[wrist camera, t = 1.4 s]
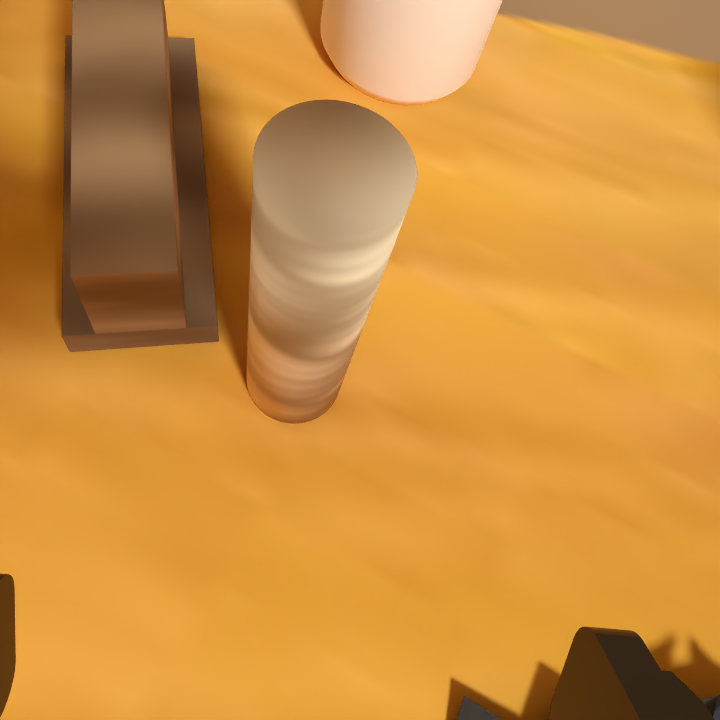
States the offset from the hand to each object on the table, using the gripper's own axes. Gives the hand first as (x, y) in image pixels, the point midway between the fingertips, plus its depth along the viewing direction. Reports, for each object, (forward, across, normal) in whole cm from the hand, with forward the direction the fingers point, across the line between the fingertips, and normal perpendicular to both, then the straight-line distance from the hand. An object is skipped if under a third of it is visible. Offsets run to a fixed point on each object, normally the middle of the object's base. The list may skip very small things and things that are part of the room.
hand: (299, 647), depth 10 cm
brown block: (+25, +8, -2) cm, 27 cm away
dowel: (+19, 0, +4) cm, 20 cm away
